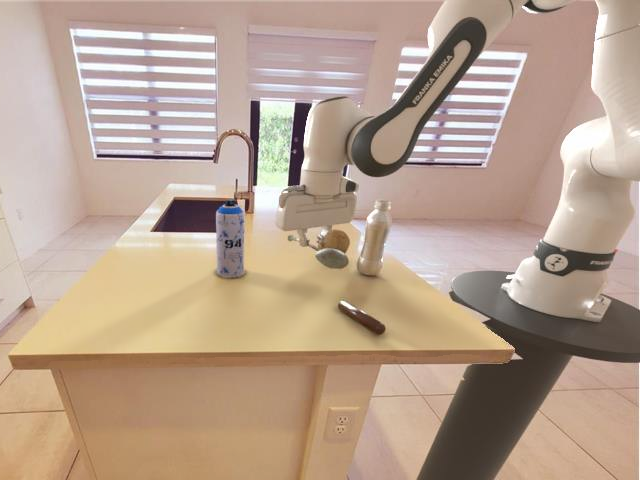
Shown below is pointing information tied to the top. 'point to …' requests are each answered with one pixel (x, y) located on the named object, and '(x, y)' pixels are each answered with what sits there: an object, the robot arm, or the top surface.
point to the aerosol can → (230, 240)
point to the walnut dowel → (362, 317)
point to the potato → (336, 241)
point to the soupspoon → (327, 256)
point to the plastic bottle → (375, 238)
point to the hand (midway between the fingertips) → (312, 244)
